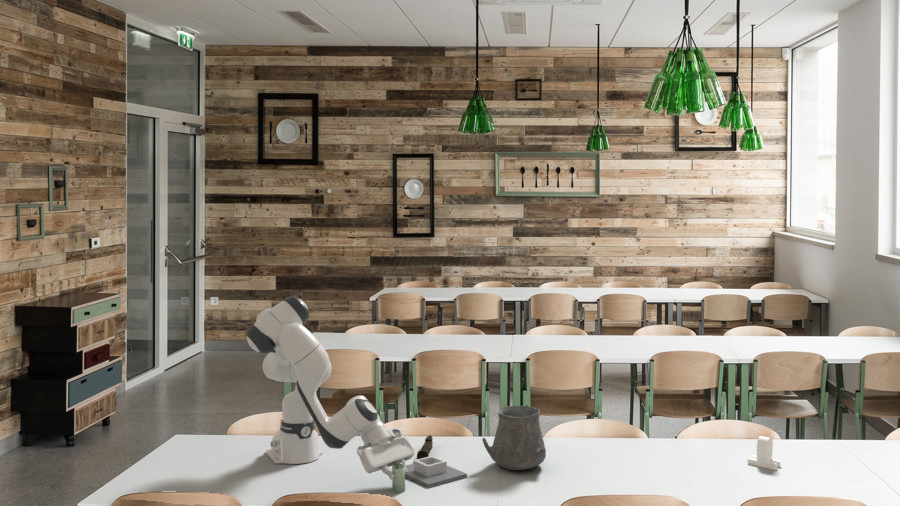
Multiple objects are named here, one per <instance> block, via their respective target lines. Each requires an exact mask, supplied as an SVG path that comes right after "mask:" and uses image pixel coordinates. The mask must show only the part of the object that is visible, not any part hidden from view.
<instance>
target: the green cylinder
mask: <svg viewBox="0 0 900 506" xmlns="http://www.w3.org/2000/svg"><path fill="white" fill-rule="evenodd" d="M391 467H392V468H391V469H392V470H391V471H392V472H395V474H396V478H395V479H392V480H391V481H392V482H391V483H392V488H391V489H392V492H393V493H394V494H395V493H397V494H398V493H399V494H401V493H404V492H405V491H406V483H405V481H406V480H405V479H406V477H405V463H404V462H402V461H396V462H393V463H392V466H391Z"/></svg>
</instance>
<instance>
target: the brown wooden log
mask: <svg viewBox="0 0 900 506" xmlns="http://www.w3.org/2000/svg"><path fill="white" fill-rule="evenodd" d="M431 449H432V450H433V436H432V435H430V434H429V435H427V436H426V438H425V439H424V443H423V444H422V446H421V448H420V450H419V451H417V454H416V460H417V459H421V458H426V457H429V455H430V452H431Z"/></svg>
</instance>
